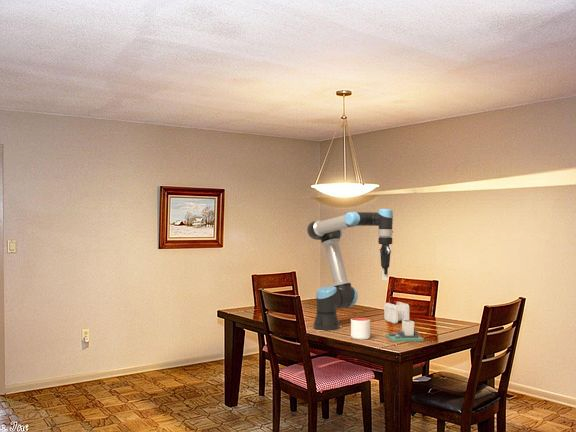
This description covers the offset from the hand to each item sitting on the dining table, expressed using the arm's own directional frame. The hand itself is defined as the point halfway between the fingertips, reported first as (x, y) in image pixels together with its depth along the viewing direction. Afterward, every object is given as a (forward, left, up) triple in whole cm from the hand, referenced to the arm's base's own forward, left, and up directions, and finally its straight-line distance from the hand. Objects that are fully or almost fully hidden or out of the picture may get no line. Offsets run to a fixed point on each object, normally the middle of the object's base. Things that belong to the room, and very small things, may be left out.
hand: (384, 280), depth 305 cm
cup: (-16, -9, -30) cm, 35 cm away
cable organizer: (+18, +35, -30) cm, 50 cm away
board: (+7, -13, -30) cm, 33 cm away
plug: (+9, -13, -28) cm, 32 cm away
